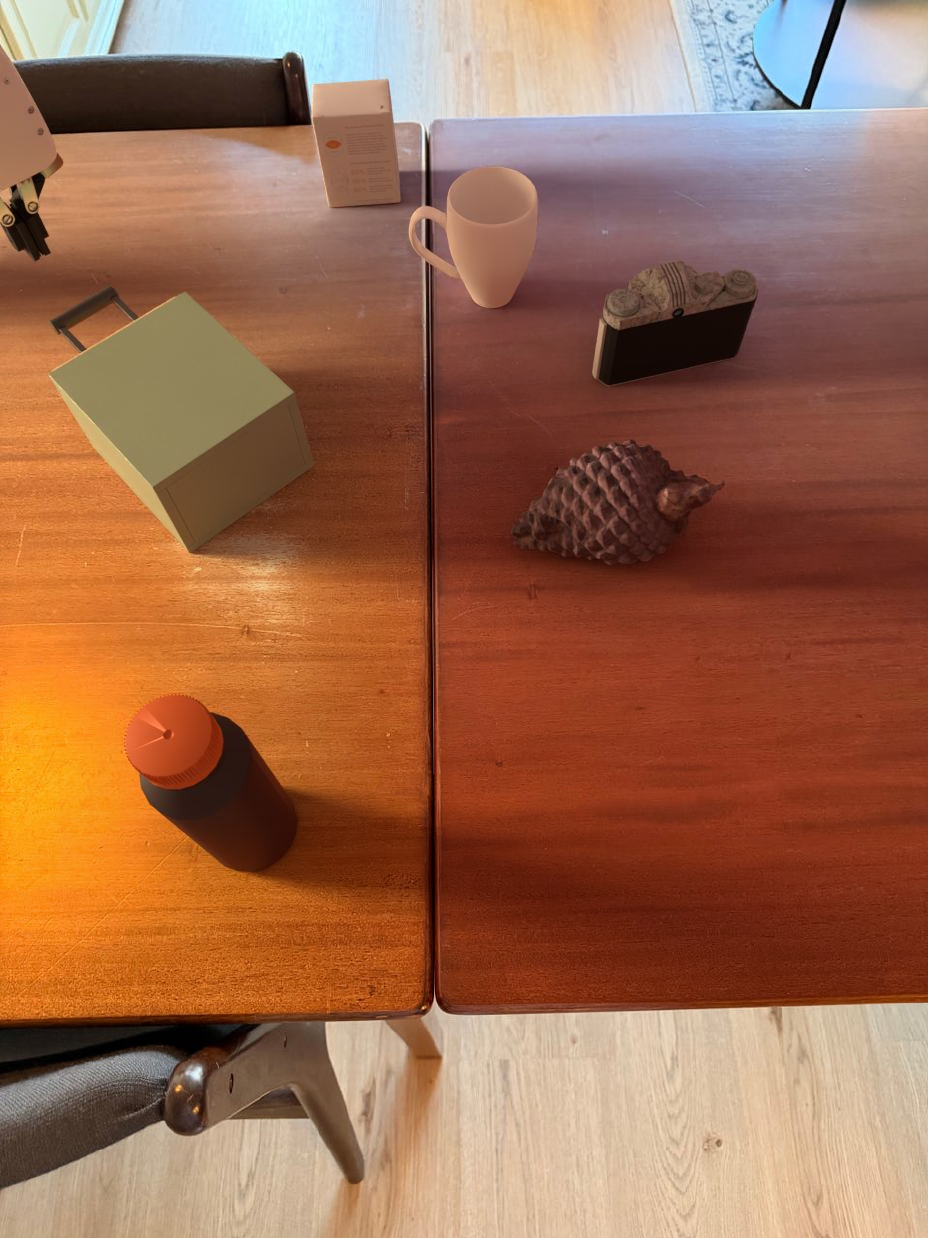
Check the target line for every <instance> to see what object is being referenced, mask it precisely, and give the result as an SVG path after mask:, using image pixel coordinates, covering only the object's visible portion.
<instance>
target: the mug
mask: <svg viewBox="0 0 928 1238" xmlns="http://www.w3.org/2000/svg"><path fill="white" fill-rule="evenodd" d="M538 197H539V196H538V191H537V189H536V187H535V185H534V183H533V182H532V181H531V180H530V179H529V178H528V176H526V175H525V174H523V173H521V172H520V171H518V170H515V169H512V168H510V167H505V166H496V165H493V166H492V165H489V166H482V167H476V168H473V169H471V170H468V171H466V172H464V173H463V174H461V175H460V176H458V177H457V178H456V179H455V180H454V181H453V182H452V184H451V185H450V187H449V189H448V192H447V196H446V213H444V212H443V211H441V210H439V209H437V208H435V207H432V206H430V205H423V206H420V207H418V208H416V210H415V211H414V212H413V213H412V215H411V217H410V220H409V223H408V237H409V241H410V243H411V246H412V248H413V250H414V251H415V253H416V254H417V255H418V256H419V257H420V258H422V259H423V260H424V261H425V262H427V263H428V264H429V265H431V266H432V267H434V268H435V269H437V270H438V271H440V272H442V273H443V274H445V275H446V276H448V277H450V278H452V279H456V280H462V282H463V285H464V286H465V288H466V290H467V292H468V293H469V296H470V297H471V299H472V301H473V302H474V303H475V304H477V305H478V306H480V307H481V308H482V307H483V308H485V309H497V308H501V307H503V306H505V305H507V304H508V303H510V301H511V300H512V298H513V297H514V295H515V292H516V291H517V289H518V287H519V285H520V283H521V282H522V280H523V277H524V276H525V273H526V271H527V269H528V268H529V265H530V263H531V260H532V257H533V255H534V252H535V246H536V240H537V226H538V210H539V208H538V207H539V198H538ZM425 219H426V220H431V221H433V222H435V223H436V224H438V225H439V226H441V228H443V229H444V230H445V234H446V237H447V244H448V248H449V252H450V256H451V258H452V260H453V263H454V265H452V264H450V263H448V262H447V261H446V260H443V259H442V258H440V257H439V256H438V255H436V254H435V253H433V252H432V251H430V250H429V249H428V248H427V247H425V246H424V244H422V242H421V241H420V240H419V238H418V237H417V234H416V225H417V224H418V223H419V222H421V221H422V220H425Z"/></svg>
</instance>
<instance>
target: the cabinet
mask: <svg viewBox="0 0 928 1238" xmlns="http://www.w3.org/2000/svg"><path fill="white" fill-rule="evenodd" d="M174 297H175V296H174ZM172 298H173V297H172ZM169 300H170V299H169ZM167 301H168V300H167ZM164 303H165V302H164ZM159 306H160V305H159ZM154 309H155V308H154ZM149 312H150V311H149ZM144 315H145V314H144ZM139 318H140V317H139ZM129 324H130V323H129ZM124 327H125V326H124ZM119 330H120V329H119ZM114 333H115V332H114ZM109 336H110V335H109ZM104 339H105V338H104ZM99 342H100V341H99ZM96 344H97V343H96ZM94 345H95V344H94ZM91 347H92V346H91ZM76 356H77V355H76ZM71 359H72V358H71ZM66 362H67V361H66ZM61 365H62V364H61ZM56 368H57V367H56ZM47 374H48V377H49V378H50V380H51V381H52V383H53V385H54V386H55V388H56V390H57V392H58V393H59V394H60V396H61V397H62V399H63V401H64V402H65V404H66V405H67V407H68V409H69V411H70V413H71V414H72V415H73V417H74V418H75V420H76V422H77V423H78V425H79V426H80V429H81V430H82V431H83V433H84V435H85V436H86V438H87V440H88V441H89V443H90V444H91V446H92V448H93V449H94V450H95V451H96V453H98V454H99V455H100V457H101V458H102V459H103V460H104V461H105V462H106V463H107V465H109V467H110V468H111V469H112V470H113V471H114V472H115V473H116V474H117V475H118V476H119V478H120V479H121V480H122V481H123V482H124V483H125V485H127V487H128V488H129V489H130V490H131V491H132V492H133V493H134V494H135V495H136V496H137V497H138V499H139V500H140V501H141V502H142V503H143V504H144V505H145V507H146V508H148V510H149V511H150V512H151V513H152V514H153V515H154V516H155V517H156V518H157V520H159V522H160V523H161V524H162V525H163V526H164V528H166V529H167V530H168V531H169V533H170V534H171V535H172V536H173V537H174V539H176V540H177V541H178V543H179V544H180V545H181V546H182V547H183V548H184V549H185V550H186V552H187V553H189V554H191V553H193V552H194V551H196V550H197V549H199V548H200V547H202V546H203V545H205V544H206V543H207V542H209V541H210V540H211V539H212V538H214V537H216V536H217V535H218V534H220V533H221V532H223V531H224V530H225V529H227V528H228V527H229V526H231V525H232V524H234V523H235V522H236V521H238V520H239V519H241V518H242V517H244V516H245V515H247V514H248V513H249V512H251V511H253V510H254V509H255V508H257V507H258V506H260V505H261V504H262V503H264V502H265V501H266V500H268V499H269V498H271V497H272V496H274V495H275V494H276V493H278V492H279V491H281V490H282V489H283V488H285V487H286V486H288V485H289V484H290V483H292V482H293V481H295V480H296V479H298V478H299V477H300V476H302V475H304V474H305V473H306V472H307V471H309V470H311V469H312V468H313V467H315V466H316V464H315V461H314V457H313V453H312V450H311V446H310V443H309V439H308V436H307V432H306V429H305V425H304V422H303V418H302V414H301V411H300V407H299V404H298V400H297V396H296V393H295V391H294V390H293V389H292V388H291V387H290V386H288V385H287V384H286V382H284V380H282V379H281V378H280V377H279V376H278V375H277V374H275V372H273V371H272V370H271V369H270V368H269V367H268V366H267V365H266V364H265V363H264V362H263V361H262V360H261V359H259V358H258V356H256V355H255V354H254V353H253V352H252V351H250V349H248V348H247V346H245V345H244V344H243V343H242V342H241V341H240V340H239V339H237V337H235V336H234V335H233V333H231V332H230V331H229V330H228V329H227V328H226V327H225V326H223V325H222V324H221V323H220V322H219V320H218V319H216V318H215V317H214V315H213V316H212V314H211V313H210V312H209V311H207V310H206V309H205V308H204V307H203V306H202V305H201V304H199V302H197V300H195V299H194V298H193V297H192V296H191V295H190V294H189V293H188V292H187V291H184V292H182V293H180V294H178V295H177V296H176V297H175V298H173V299H172V300H170V301H168V302H167V303H165V304H164V305H162V306H160V307H159V308H157V309H155V310H154V311H152V312H150V313H149V314H147V315H145V316H144V317H142V318H140V319H139V320H137V321H135V322H134V323H132V324H130V325H129V326H127V327H125V328H124V329H122V330H120V331H119V332H117V333H115V334H114V335H112V336H110V337H109V338H107V339H105V340H104V341H102V342H100V343H99V344H97V345H95V346H94V347H92V348H91V349H89V350H87V351H86V352H84V353H82V354H81V355H79V356H77V357H76V358H74V359H72V360H71V361H69V362H67V363H66V364H64V365H62V366H61V367H59V368H57V369H56V370H54V371H52V370H51V372H49V373H47Z"/></svg>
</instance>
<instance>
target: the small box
mask: <svg viewBox="0 0 928 1238" xmlns="http://www.w3.org/2000/svg"><path fill="white" fill-rule="evenodd" d="M311 92H312V93H311V94H312V95H311V123H312V127H313V133H314V138H315V142H316V148H317V153H318V159H319V164H320V170H321V174H322V179H323V184H324V190H325V194H326V200H327V205H328V207H329V208H342V207H358V206H369V205H372V206H373V205H382V204H384V205H385V204H398V203H401V181H400V166H399V165H400V164H399V158H398V157H399V156H398V147H397V139H396V129H395V123H394V121H395V120H394V112H393V103H392V95H391V86H390V81H389V78H381V79H380V78H379V79H366V80H354V81H353V80H352V81H340V82H339V81H338V82H327V83H326V82H325V83H314V84H312V91H311Z"/></svg>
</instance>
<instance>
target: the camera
mask: <svg viewBox="0 0 928 1238" xmlns="http://www.w3.org/2000/svg"><path fill="white" fill-rule="evenodd" d="M758 293H759V288H758V285H757V279H756V277H755V275H754V274H753V273H752V272H751V271H748V270H746V269H742V268H736V269H731V270H729V271H727V272H726V273H725V275H721V274H720V272H719V270H713V271H708V272H703V273H698V272H697V271H696V270H695V268H693V267H692V266H691V265H688V264H685V261H683V260H677V261H673V262H667V263H663V264H658V265H654V266H651V267H649V268H647V269H644V270H642V271H640V272H639V273H638V274H636V275H635V276H633V277H631V278H629V281H628V287H627V288H617V289H615V290H613V291H612V292H611V293H608V294H606V296H605V298H604V303H603V304H604V305H603V309H602V316H601V317H600V318H599V322H598V329H597V337H596V343H595V351H594V356H593V364H592V369H591V375H592V376H593V378H594V379H595V380H597V381H598V382H600V383H601V384H603V385H604V386H607V387H614V386H618V385H622V384H626V383H627V384H628V383H631V382H636V381H641V380H645V379H648V378H653V377H657V376H662V375H667V374H671V373H676V372H680V371H684V370H689V369H694V368H697V367H702V366H705V365H706V366H707V365H710V364H714V363H719V362H724V361H728V360H733V359H735V357H736V356H737V354H739V351H740V348H741V345H742V342H743V339H744V336H745V333H746V330H747V327H748V325H749V322H750V319H751V316H752V314H753V310H754V307H755V304H756V302H757V298H758Z"/></svg>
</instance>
